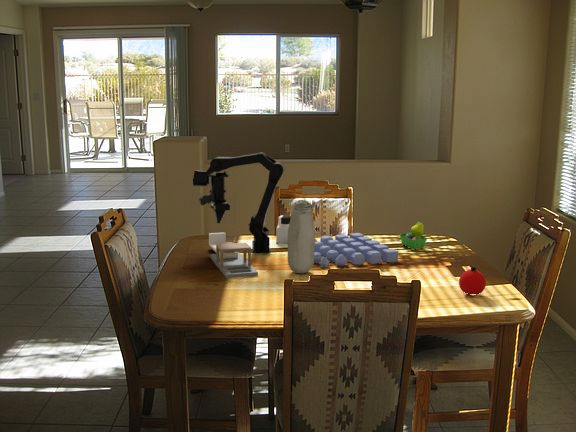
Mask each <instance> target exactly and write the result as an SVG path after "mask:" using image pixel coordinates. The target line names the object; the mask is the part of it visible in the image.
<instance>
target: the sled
mask: <svg viewBox="0 0 576 432" xmlns="http://www.w3.org/2000/svg"><path fill="white" fill-rule="evenodd" d="M226 236H227V235H226V232H209V233H208V245H209V246H210V247H211V249H212V250H213V251H214V252H215V253H216V245H218V244H220V243H223V242H227V241H226V240H227V238H226ZM238 252H239V251H235V252H233V253H223V259H226V258H238ZM219 257H220V251H219Z"/></svg>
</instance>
